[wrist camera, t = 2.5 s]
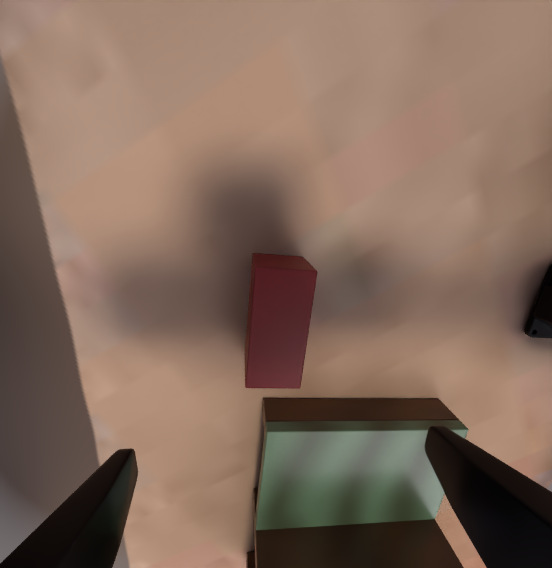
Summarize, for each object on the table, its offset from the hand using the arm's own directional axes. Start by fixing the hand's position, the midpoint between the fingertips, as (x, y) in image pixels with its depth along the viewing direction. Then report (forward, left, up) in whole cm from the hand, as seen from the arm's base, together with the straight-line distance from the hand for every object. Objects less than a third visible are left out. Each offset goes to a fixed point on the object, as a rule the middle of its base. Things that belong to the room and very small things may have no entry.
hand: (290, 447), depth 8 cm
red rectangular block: (-1, +1, -12) cm, 13 cm away
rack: (-9, +19, -12) cm, 24 cm away
